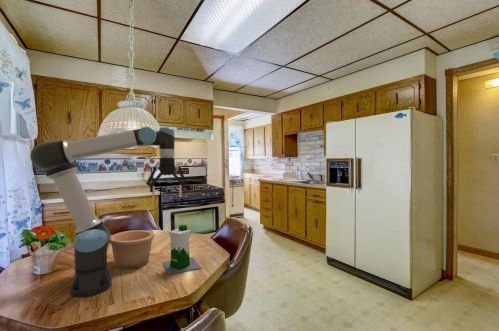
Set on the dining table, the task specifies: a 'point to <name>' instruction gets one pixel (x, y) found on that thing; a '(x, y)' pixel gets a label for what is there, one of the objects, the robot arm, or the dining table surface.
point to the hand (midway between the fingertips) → (167, 198)
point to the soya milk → (180, 247)
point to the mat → (192, 266)
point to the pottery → (131, 248)
